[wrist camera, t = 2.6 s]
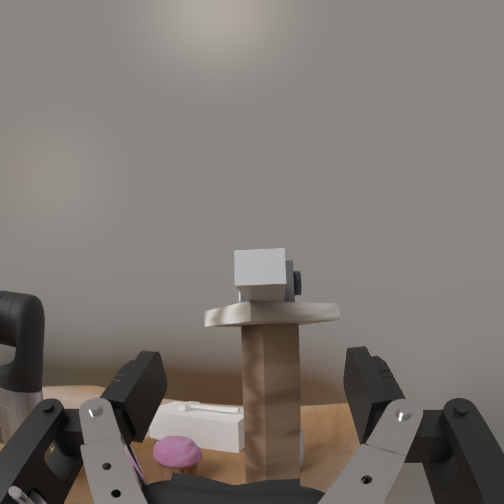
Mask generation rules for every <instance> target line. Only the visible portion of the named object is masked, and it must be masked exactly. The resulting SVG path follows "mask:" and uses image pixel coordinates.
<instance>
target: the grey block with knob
mask: <svg viewBox="0 0 504 504" xmlns="http://www.w3.org/2000/svg"><path fill="white" fill-rule="evenodd" d="M234 254H235V287H236V288H237V289H238V290H239V302H240V303H242V302H246V301H250V300H252V301H274V302H295V297H294V295H301V275H300V271H293V263H292V262H293V261H285V249H284V248H277V249H258V250H237V251H234Z"/></svg>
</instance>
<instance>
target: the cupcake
mask: <svg viewBox="0 0 504 504" xmlns="http://www.w3.org/2000/svg"><path fill="white" fill-rule="evenodd" d="M153 457H154V460H155V461H157V462H158V465H159V467H160V470H161V472H162V474H163V475H164V477H165V479H166V480H171V477H172V474H173V473H179V474H186V475H193V476H196V475H197V462H199V461H200V460H201V458H202V452H201V449H200V448H199V447H198V446H197V445H196V444H195V443H194V441H193V440H192V439H190V438H188V437H184V436H166V437H164V438H163V439H160V440H159V441H158V442H157V443H156V444H155V446H154V449H153Z"/></svg>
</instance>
